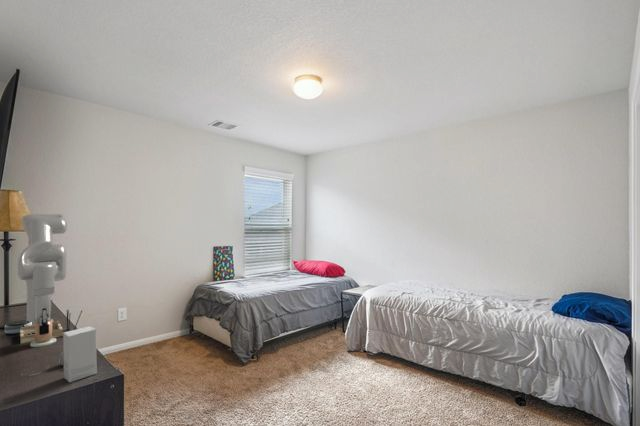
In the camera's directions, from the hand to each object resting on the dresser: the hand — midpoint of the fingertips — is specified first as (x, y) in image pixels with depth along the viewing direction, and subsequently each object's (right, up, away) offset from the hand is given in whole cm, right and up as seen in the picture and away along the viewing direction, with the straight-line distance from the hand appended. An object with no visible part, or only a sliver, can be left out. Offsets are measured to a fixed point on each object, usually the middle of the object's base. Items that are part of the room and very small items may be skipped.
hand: (43, 331), depth 149 cm
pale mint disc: (0, -5, 0) cm, 5 cm away
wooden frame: (-10, -6, +11) cm, 16 cm away
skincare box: (+41, -3, -35) cm, 54 cm away
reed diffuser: (+30, -4, -24) cm, 39 cm away
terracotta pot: (0, -3, 0) cm, 3 cm away
